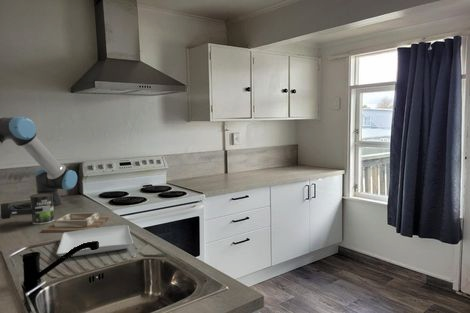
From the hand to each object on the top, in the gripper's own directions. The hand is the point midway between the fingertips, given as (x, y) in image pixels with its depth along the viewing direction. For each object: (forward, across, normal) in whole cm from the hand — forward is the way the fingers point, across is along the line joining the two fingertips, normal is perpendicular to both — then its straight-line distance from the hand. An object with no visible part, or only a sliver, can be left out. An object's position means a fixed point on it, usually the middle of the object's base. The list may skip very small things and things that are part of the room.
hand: (49, 205), depth 186 cm
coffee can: (-3, 0, -8) cm, 9 cm away
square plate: (+14, +54, -9) cm, 56 cm away
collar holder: (+12, +16, -8) cm, 22 cm away
